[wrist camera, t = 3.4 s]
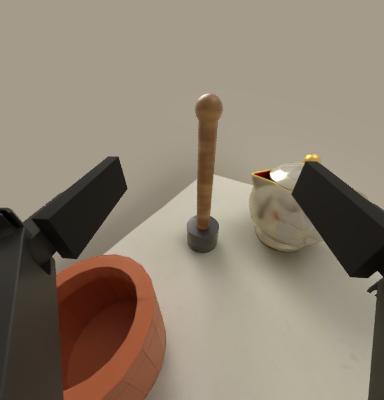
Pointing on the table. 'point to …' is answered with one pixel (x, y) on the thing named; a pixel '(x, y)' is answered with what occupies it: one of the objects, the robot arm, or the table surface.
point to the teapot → (281, 208)
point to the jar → (109, 330)
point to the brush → (205, 175)
